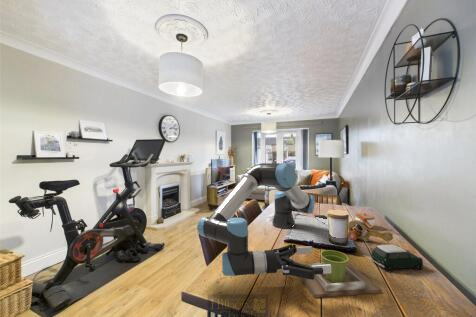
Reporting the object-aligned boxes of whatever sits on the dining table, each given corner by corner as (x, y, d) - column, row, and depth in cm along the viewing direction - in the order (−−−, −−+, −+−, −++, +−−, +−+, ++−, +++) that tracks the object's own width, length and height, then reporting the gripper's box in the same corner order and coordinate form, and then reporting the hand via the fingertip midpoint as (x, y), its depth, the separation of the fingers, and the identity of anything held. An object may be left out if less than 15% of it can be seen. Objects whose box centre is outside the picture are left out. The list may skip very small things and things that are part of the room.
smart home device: (324, 214, 153) (337, 223, 133) (324, 217, 153) (337, 226, 133) (313, 215, 153) (325, 223, 133) (313, 217, 153) (325, 226, 133)
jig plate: (313, 297, 65) (313, 288, 65) (295, 270, 81) (295, 262, 81) (381, 292, 67) (381, 283, 67) (350, 266, 83) (350, 259, 83)
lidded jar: (375, 231, 121) (375, 216, 121) (355, 228, 127) (354, 213, 127) (374, 226, 130) (374, 212, 130) (355, 223, 136) (355, 210, 136)
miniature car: (426, 270, 80) (426, 251, 80) (383, 272, 79) (383, 252, 79) (406, 259, 89) (406, 241, 89) (367, 260, 88) (367, 243, 88)
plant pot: (320, 283, 71) (320, 259, 71) (320, 269, 79) (320, 248, 79) (350, 289, 67) (350, 264, 67) (347, 274, 76) (346, 252, 76)
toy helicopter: (351, 234, 117) (351, 211, 117) (395, 246, 100) (394, 220, 100) (345, 238, 112) (345, 214, 111) (390, 251, 95) (390, 223, 95)
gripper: (258, 255, 84) (306, 252, 86) (273, 296, 59) (341, 291, 61) (258, 237, 84) (306, 235, 86) (273, 271, 59) (340, 266, 61)
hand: (320, 258), depth 73 cm, fingers open, 13 cm apart
